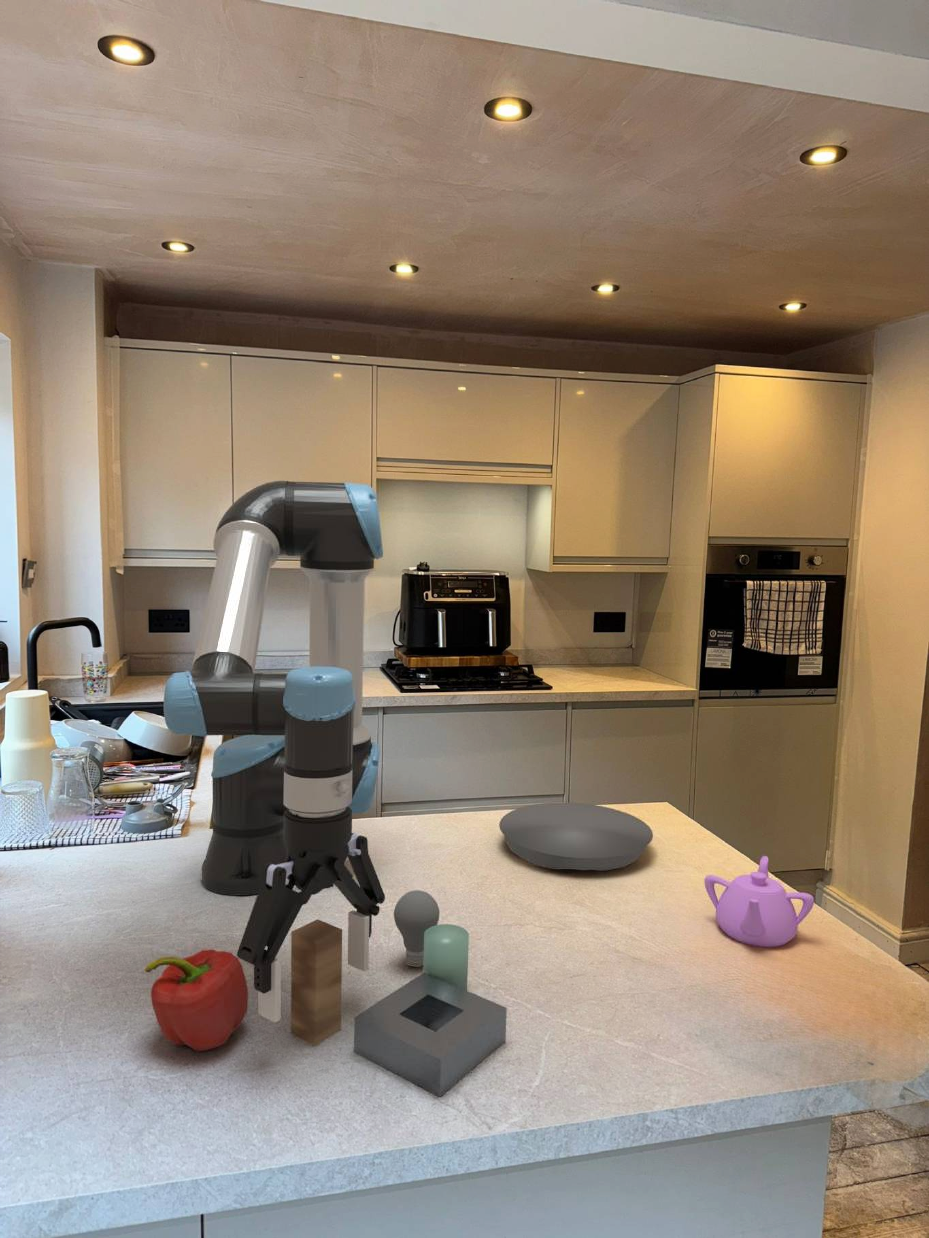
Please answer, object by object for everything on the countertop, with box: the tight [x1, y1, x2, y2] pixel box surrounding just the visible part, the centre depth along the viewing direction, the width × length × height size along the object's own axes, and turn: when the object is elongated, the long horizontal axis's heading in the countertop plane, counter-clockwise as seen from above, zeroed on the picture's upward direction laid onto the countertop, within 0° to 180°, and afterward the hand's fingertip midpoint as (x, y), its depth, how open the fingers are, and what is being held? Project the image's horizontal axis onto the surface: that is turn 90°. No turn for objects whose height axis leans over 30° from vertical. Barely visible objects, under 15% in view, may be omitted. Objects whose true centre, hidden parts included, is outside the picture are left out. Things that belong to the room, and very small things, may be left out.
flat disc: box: [499, 802, 654, 872], centre depth 152 cm, size 28×28×4 cm
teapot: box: [704, 855, 815, 948], centre depth 121 cm, size 12×14×9 cm
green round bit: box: [422, 923, 470, 991], centre depth 102 cm, size 6×6×8 cm
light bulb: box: [393, 889, 440, 968], centre depth 109 cm, size 6×6×10 cm
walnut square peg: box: [290, 919, 343, 1047], centre depth 94 cm, size 4×4×12 cm
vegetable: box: [144, 949, 249, 1052], centre depth 92 cm, size 11×10×10 cm
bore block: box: [353, 972, 508, 1098], centre depth 92 cm, size 12×12×4 cm
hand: (316, 990), depth 93 cm, fingers open, 13 cm apart
